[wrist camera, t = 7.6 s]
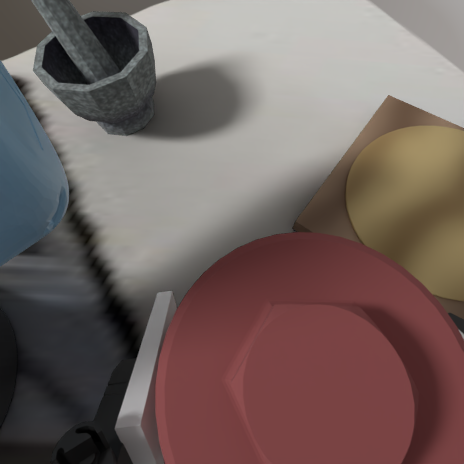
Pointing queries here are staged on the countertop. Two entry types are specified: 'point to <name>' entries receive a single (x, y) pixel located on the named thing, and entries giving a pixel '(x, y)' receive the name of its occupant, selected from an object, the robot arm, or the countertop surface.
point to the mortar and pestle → (98, 65)
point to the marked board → (401, 197)
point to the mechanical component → (310, 361)
